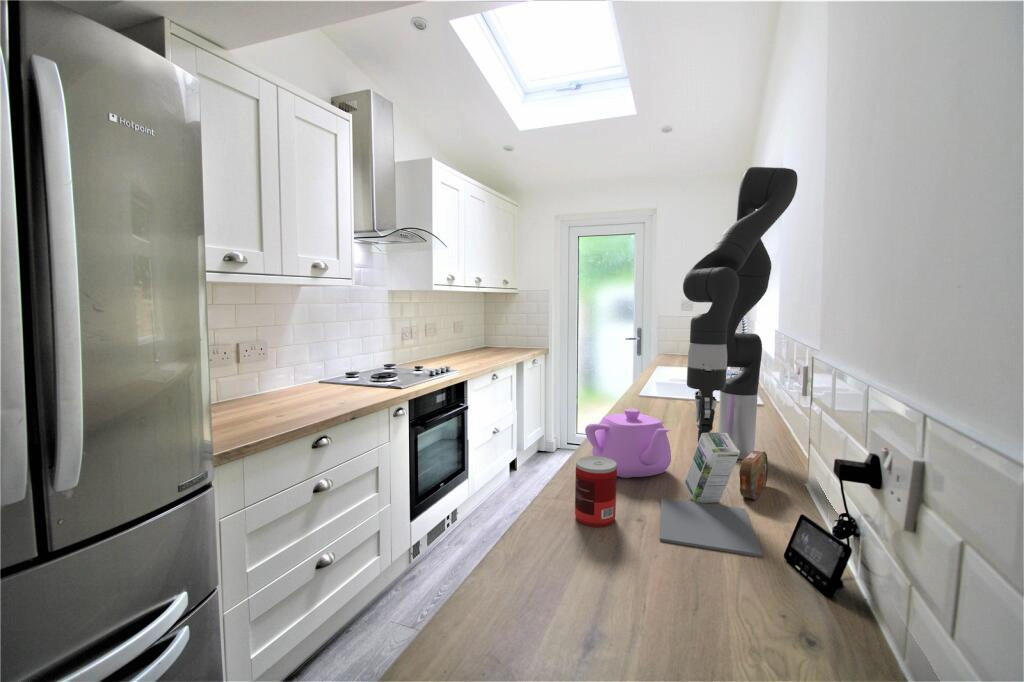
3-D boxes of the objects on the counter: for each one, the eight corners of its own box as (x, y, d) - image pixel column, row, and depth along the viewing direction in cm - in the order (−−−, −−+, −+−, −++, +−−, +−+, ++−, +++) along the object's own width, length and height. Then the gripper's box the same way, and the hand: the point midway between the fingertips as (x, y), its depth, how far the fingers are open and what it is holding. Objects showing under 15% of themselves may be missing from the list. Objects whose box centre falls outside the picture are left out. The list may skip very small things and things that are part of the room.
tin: (751, 505, 97) (754, 465, 96) (735, 501, 99) (737, 462, 98) (768, 484, 108) (770, 448, 108) (753, 480, 111) (755, 445, 110)
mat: (661, 499, 99) (661, 497, 99) (745, 510, 94) (745, 508, 94) (659, 540, 82) (660, 538, 82) (762, 557, 77) (762, 554, 77)
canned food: (617, 512, 93) (619, 458, 92) (612, 531, 85) (614, 472, 85) (579, 506, 95) (580, 453, 95) (570, 524, 88) (572, 466, 87)
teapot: (570, 463, 121) (571, 405, 120) (642, 455, 127) (644, 400, 126) (615, 498, 100) (617, 428, 98) (698, 487, 106) (701, 422, 104)
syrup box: (683, 482, 102) (699, 431, 95) (709, 481, 103) (728, 431, 95) (693, 503, 97) (712, 452, 90) (721, 503, 98) (741, 451, 90)
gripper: (686, 360, 105) (683, 437, 106) (688, 368, 92) (685, 455, 93) (723, 362, 102) (719, 440, 104) (730, 370, 90) (726, 459, 91)
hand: (703, 447), depth 99 cm, fingers closed
